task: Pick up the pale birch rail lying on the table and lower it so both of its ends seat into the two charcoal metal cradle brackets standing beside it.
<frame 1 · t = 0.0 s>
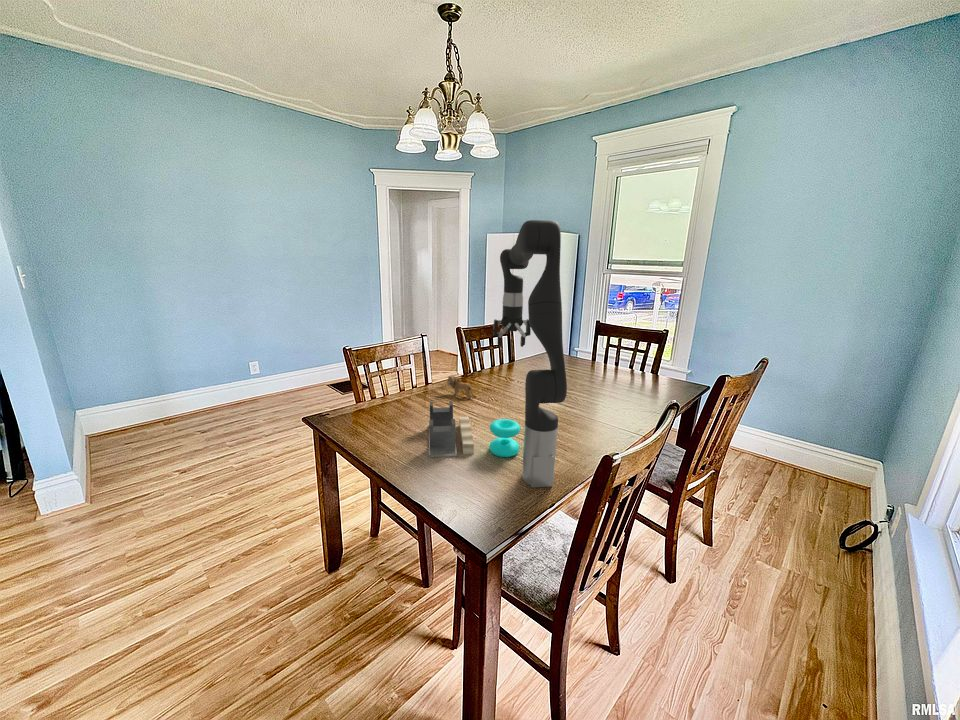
hand: (511, 346, 148), 29 cm above the table, tool pointing down, fingers open, 8 cm apart
cradle bracket stand: (442, 439, 135), on the table
turquoise hourglass-shaped piece: (504, 451, 128), on the table
lion figurine: (460, 396, 177), on the table
birch rail: (465, 439, 136), on the table
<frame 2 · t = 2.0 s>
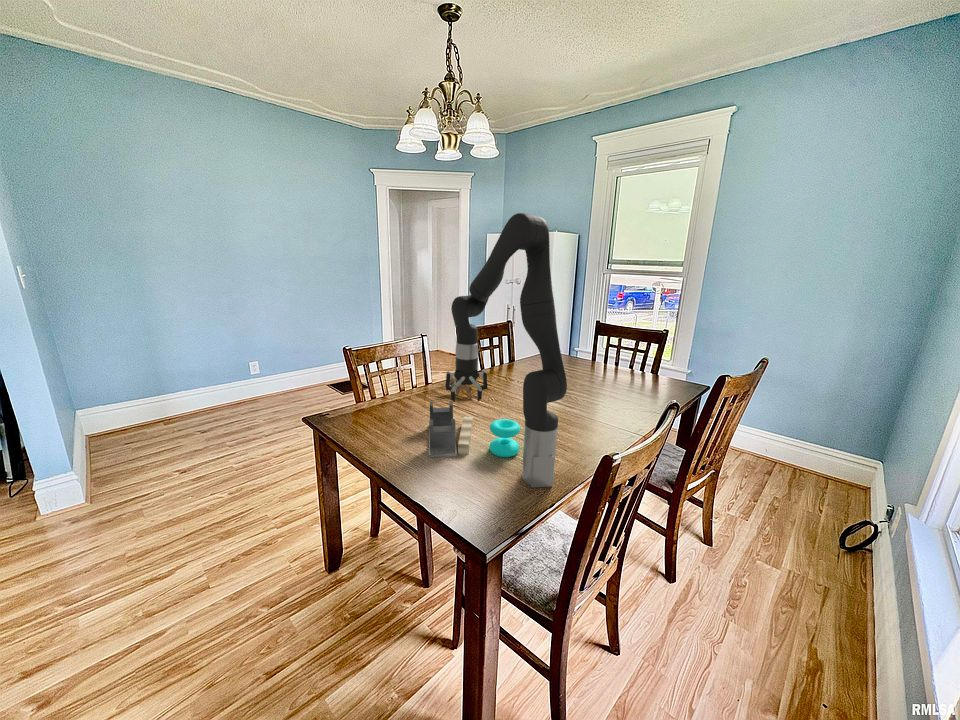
hand: (466, 400, 132), 14 cm above the table, tool pointing down, fingers open, 8 cm apart
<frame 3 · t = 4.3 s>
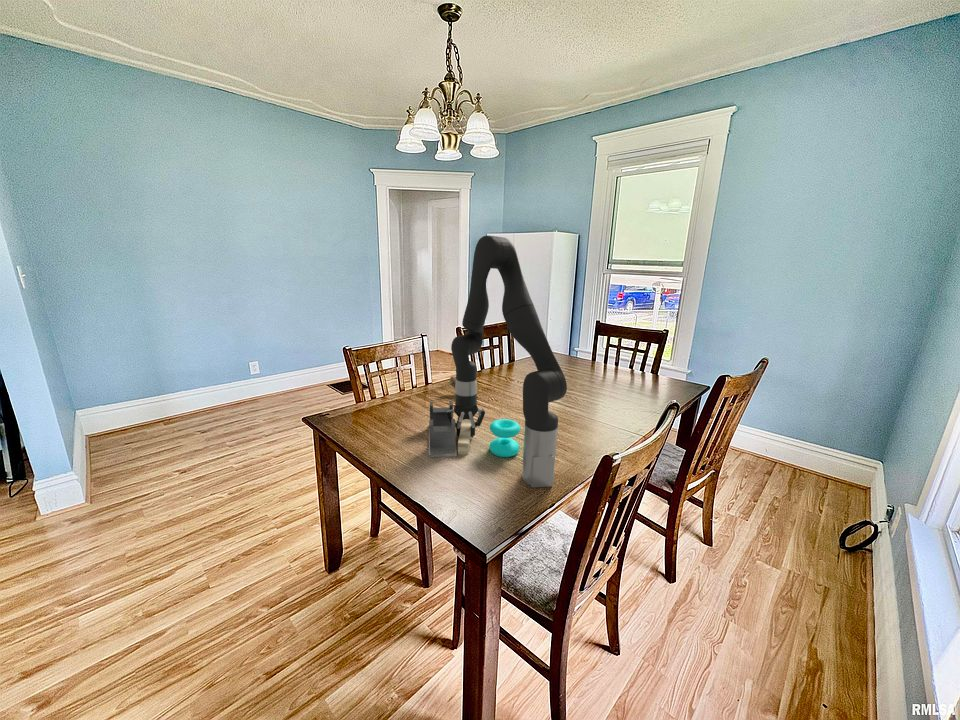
hand: (465, 436, 136), 1 cm above the table, tool pointing down, fingers closed on birch rail, 4 cm apart
birch rail: (465, 438, 136), on the table, touching gripper
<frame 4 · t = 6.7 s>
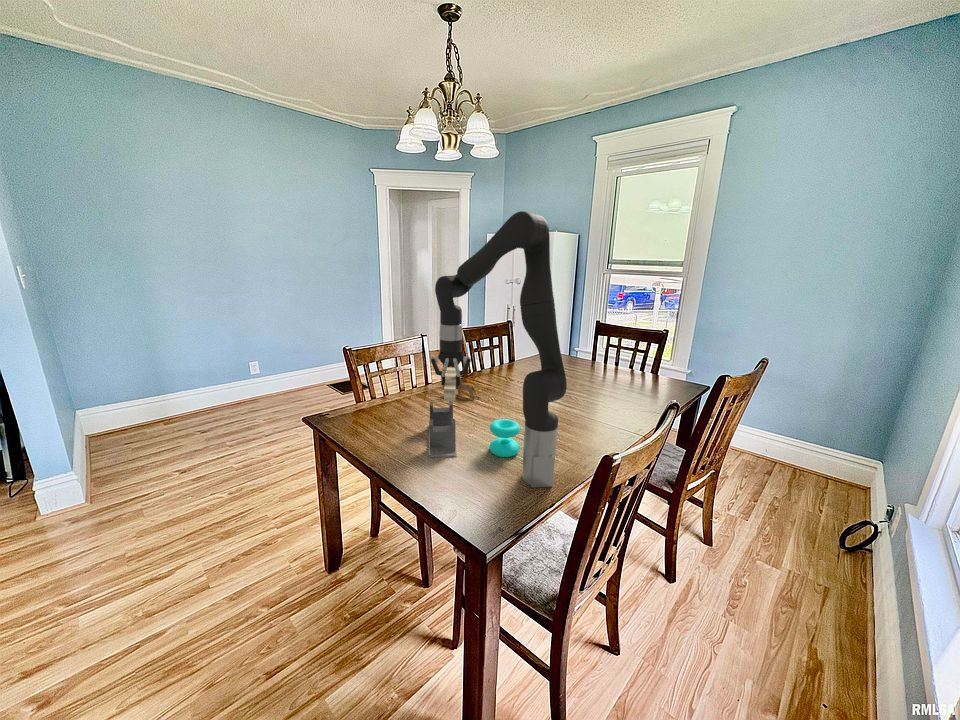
hand: (450, 385, 131), 20 cm above the table, tool pointing down, fingers closed on birch rail, 3 cm apart
birch rail: (450, 388, 131), point 19 cm above the table, touching gripper
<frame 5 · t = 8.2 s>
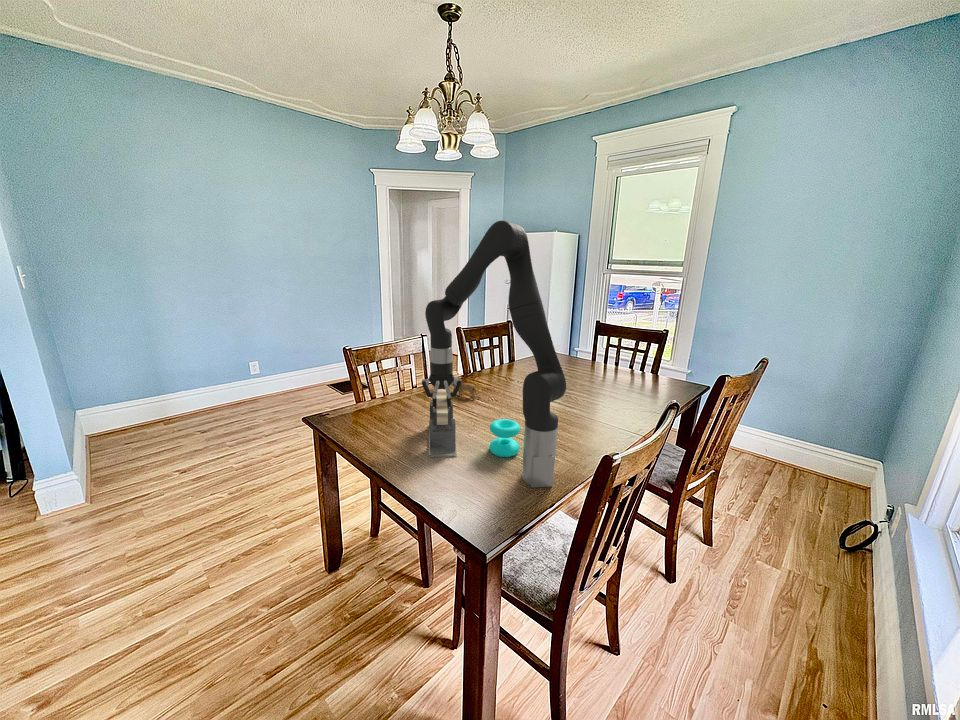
hand: (441, 407, 132), 12 cm above the table, tool pointing down, fingers closed on birch rail, 3 cm apart
birch rail: (441, 411, 132), point 11 cm above the table, touching gripper
when the fingers open (10 cm above the table, at t = 9.4 s): birch rail stays where it is, resting on cradle bracket stand.
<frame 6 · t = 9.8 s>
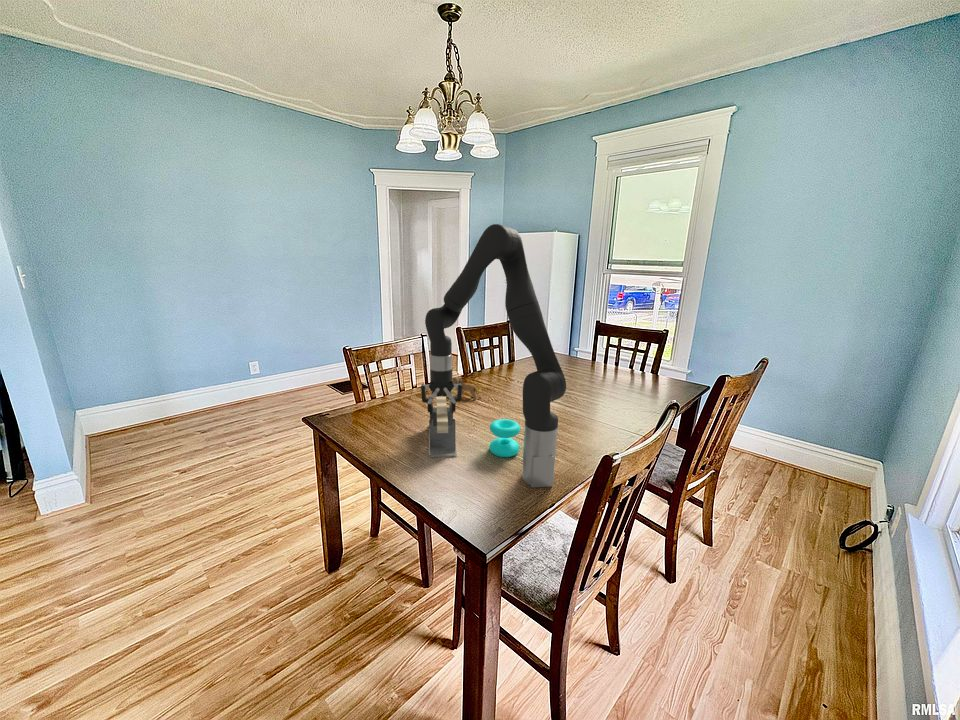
hand: (441, 412, 132), 10 cm above the table, tool pointing down, fingers open, 7 cm apart
birch rail: (441, 418, 133), point 8 cm above the table, touching cradle bracket stand
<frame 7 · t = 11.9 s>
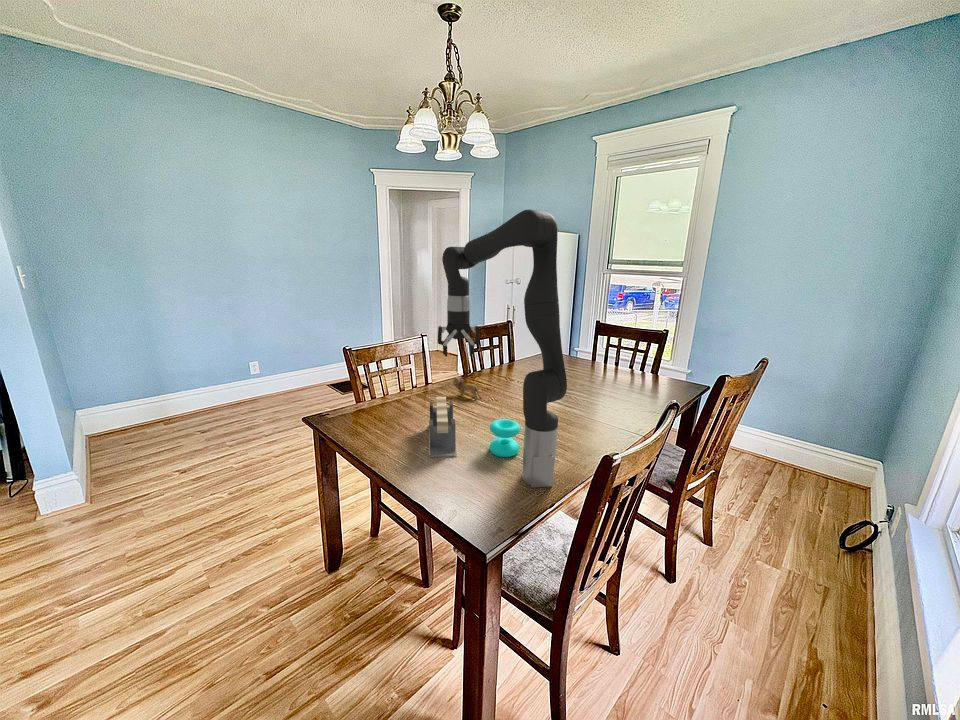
hand: (458, 355, 132), 30 cm above the table, tool pointing down, fingers open, 8 cm apart
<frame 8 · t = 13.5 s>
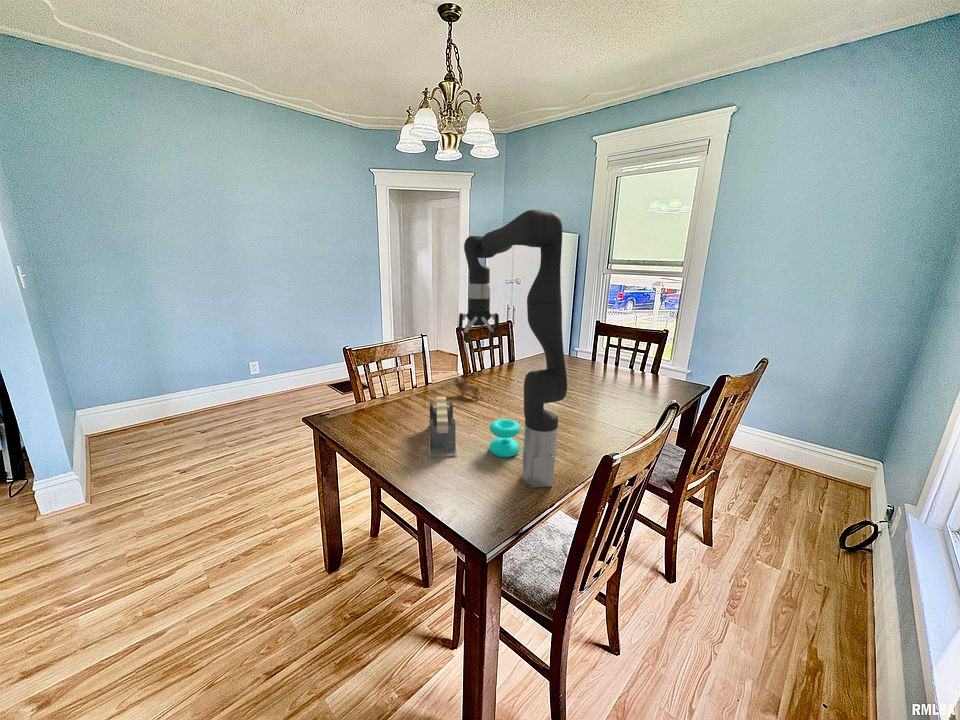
hand: (478, 342, 137), 33 cm above the table, tool pointing down, fingers open, 8 cm apart
at the end: birch rail 0.1 cm off-centre on the cradle bracket stand, point 8.0 cm above the cradle bracket stand's base; birch rail tilted 0°; the gripper is holding nothing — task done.
